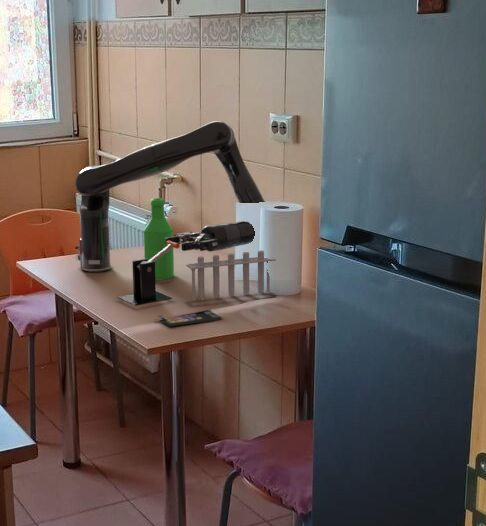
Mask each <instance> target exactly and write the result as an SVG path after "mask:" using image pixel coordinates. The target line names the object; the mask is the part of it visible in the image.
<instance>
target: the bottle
mask: <svg viewBox="0 0 486 526" xmlns="http://www.w3.org/2000/svg"><path fill="white" fill-rule="evenodd" d="M165 204H166V203H165V199H164V198H161V197H155V198H152V199H150V210H151V211H150V212H151V213H150V214H151V215H150V216H151V218H150V219H149V221H148V223H147V224H146V226H145V227H144V229H143V250H144V251H143V253H144V256H143V257H144V259H145V258H146V259H148V261H149V260H150V259H151V258H153V257H154V256H155V255H156V254H158V253H159V252H160V251H161V250H163V249H164V248H165V247H166V246H167V245H166V244H165V239H166V238H168V237H174V228H173V227H172V226H171V224H170V223H169V222H168V220H167V219H166V217H165ZM174 259H175V258H174V247H173V248H172V249H170V250H169V251H168V252H167V253H165V254H164V255H163V256H162V257H160V258H159V259H158V260H157V261H155V279H156V281H163V280H169V279H172V278H174V276H175V261H174Z"/></svg>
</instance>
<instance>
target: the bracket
mask: <svg viewBox="0 0 486 526" xmlns="http://www.w3.org/2000/svg"><path fill="white" fill-rule="evenodd" d="M143 261H146V262H145V263H141V262H143ZM131 263H132V289H133V293H131V294H127V295H122V296H117V299H119V300H122V301H123V302H126V303H128V304H130V305H133V306H134V307H136V306H137V307H138V306H141V305H147V304H151V303H157V302H162V301H167V300H171V299H173V297H171V296H169V295H166V294H164V293H162V292H159V291H157V287H156V286H157V280H156V279H155V262H154V261H151V262H148V259H146V258H145V257H144V258H141V259H133V260H132V262H131ZM139 264H140V272H139V270H138V268H137V265H139Z"/></svg>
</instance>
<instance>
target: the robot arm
mask: <svg viewBox="0 0 486 526" xmlns="http://www.w3.org/2000/svg"><path fill="white" fill-rule="evenodd" d="M212 152H213V154H214V155H215V157H216V158H217V159H218V160H219V162H220V164H221V166H222V167H223V169H224V172H225V173H226V175H227V177H228V181H229V183H230V186H231V189H232V192H233V194H234V196H235V198H236V200H237V202H238V203H259V202H266V201H265V199H264V197H263V195H262V193H261V191H260V189H259V187H258V185H257V184H256V181H255V180H254V178H253V176H252V174H251V173H250V170H249V169H248V167H247V165H246V164H245V161H244V159H243V157H242V154H241V152H240V149H239V146H238V142H237V139H236V135H235V132H234V130H233V128H232V127H231V126H230V125H229V124H228V123H226V122H225V121H222V120H213V121H210V122H208V123H206V124H204V125H202V126H200V127H197V128H195V129H194V130H191V131H189V132H186V133H185V134H182V135H179V136H175V137H172V138H168V139H164V140H161V141H158V142H155V143H152V144H149V145H146V146H144V147H140V148H139V149H137V150H135V151H132V152H131V153H128V154H127V155H125V156H123V157H121V158H119V159H117V160H115V161H112V162H110V163H107V164H103V165H96V164H95V165H94V164H93V165H88V166H86V167H85V168H84V169H82V170H81V171H80V172H79V173H78V174H77V176H76V178H75V183H74V185H75V188H76V191H77V192H78V193H79V194H80V195H81V197H80V198H81V200H80V207H79V228H80V229H79V231H80V239H78V240H79V241H78V243H79V244H76V245H75V247H74V248H75V250H78V251H79V252H78V254H77V258H78V259H79V261H80V263H79V264H80V269H81V270H82V271H84V272H88V273H101V272H106V271H109V270H111V269H112V264H111V241H110V240H111V239H110V221H109V220H110V219H109V217H110V215H109V211H110V203H111V202H110V190H111V189H114V188H116V187H119V186H121V185H124V184H128V183H132V182H136V181H137V182H138V181H140V180H143V179H147V178H151V177H154V176H156V175H160V174H162V173H165V172H167V171H171V170H172V169H173V168H175V167H177V166H179V165H180V164H182V163H184V162H185V161H187V160H189V159H192V158H194V157H197V156H200V155H201V156H202V155H204V154H208V153H212ZM254 236H255V231H254V228H253V226H252V224H250V222H249V221H246V222H245V220H244V221H243V220H242V221H235V222H224V223H217V224H211V225H206V226H204V227H203V228H202V230H201V232H199V231H197V232H196V231H195V232H193V231H192V230H191V231H184V232H179V233H177V232H176V233H173V237H168V238H166V239H165V244H166V242H167V241H172V242H175V243H178V244H179V245H181V251H182V252H186V251H192V250H194V251H198V250H199V251H200V252H204V251H207V252H217V251H223V250H228V249H232V248H235V247H241V246H245V245H248V244H249V243H251V242H252V241H253V239H254Z"/></svg>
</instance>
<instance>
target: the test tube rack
mask: <svg viewBox="0 0 486 526" xmlns="http://www.w3.org/2000/svg"><path fill="white" fill-rule="evenodd" d="M264 256H265V251H264V250H257V256H256V257H255V256H254V257H250V252H249V251H244V252H242V258H236V259H235V254H234V253H228V254H227V260H226V259H225V260H220V255H219V254H214V255H212V261H207V262H206V261H205V257H204V256H198V257H197V262H196V263H186V265H185V266H186V267H187V268H188V269H190V271H191V301H192V302H195V301H197V298H198V300H199V301H204V300H205V269H209V268H212V291H213V292H212V294H213V295H212V296H213V299H220V267H227V286H228V287H227V293H228V294H227V295H228V297H230V298H233V297H235V266H237V265H242V294H243V296H249V295H250V264H256V263H257V293H258V294H260V295H261V294H264V292H265V293H267V294H269V293H271V289H270V284H271V281H270V280H271V279H270V276H271V275H270V276H269V273H268V272H267V271H268V270H267V269H266V291H265V263H266V262H267V263H268V261H270V262H274V261H275V262H276V260H277V259H276V258H274V259H268V258H264ZM267 263H266V264H267ZM196 270H197V296H198V297H197V298H196ZM273 298H277V295H273V296H267V299H273ZM264 299H266V297H264V298H262V300H264Z"/></svg>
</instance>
